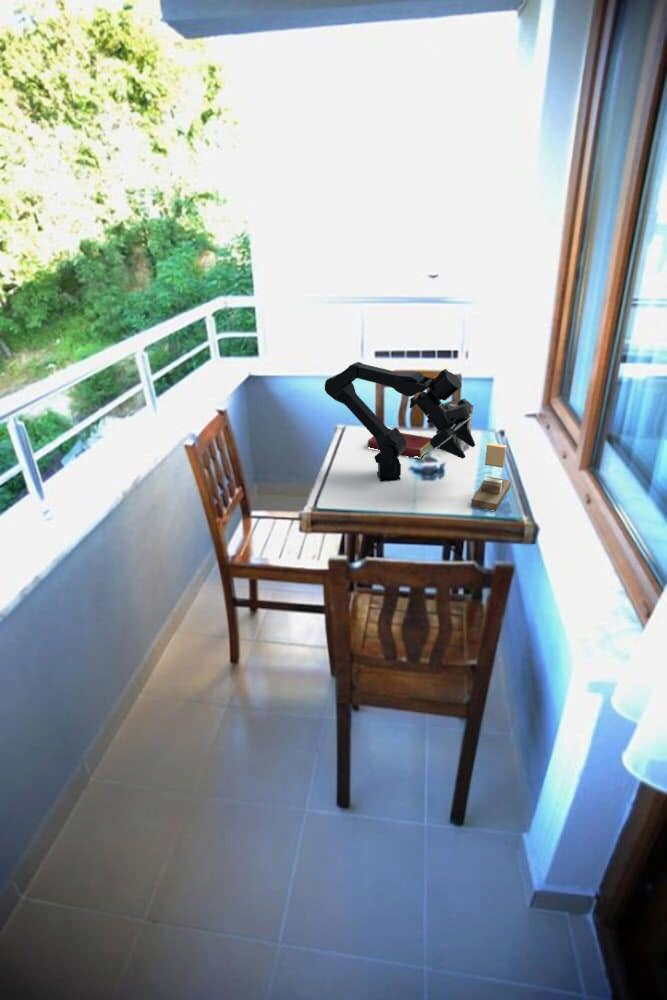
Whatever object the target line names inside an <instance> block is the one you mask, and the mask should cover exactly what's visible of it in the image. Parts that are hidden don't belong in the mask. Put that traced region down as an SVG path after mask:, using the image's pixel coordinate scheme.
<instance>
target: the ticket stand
mask: <svg viewBox="0 0 667 1000" xmlns="http://www.w3.org/2000/svg"><path fill="white" fill-rule="evenodd" d="M511 484H512V480H510V479H509V480H508V479H505V478H498V477H492V476H486V477H484V478H483V480H482V482H481V485H480V487H479V488H478V490H476V492H475V493H474V495H473V496H472V497H471V499H470V501H471V503H470V507H471V508H475V509H480V510H484V509H487V510H486V511H489V510H494V511H496V510H497V511H498V509H499V508H500V506H501V504H502V503H501V502H503V501H504V499H505V498H504V497H506V496H507V494H508V493H509V491H510V489H511ZM507 492H508V493H507ZM502 500H503V501H502ZM499 505H500V506H499ZM498 507H499V508H498ZM497 508H498V509H497ZM494 511H493V512H494ZM497 511H496V512H497Z"/></svg>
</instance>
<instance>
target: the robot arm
mask: <svg viewBox="0 0 667 1000" xmlns="http://www.w3.org/2000/svg"><path fill="white" fill-rule="evenodd" d="M357 379H359V380H363V381H367V382H370V383H375V384H379V385H383V386H387V387H389V388H392V389H393V390H394V391H396V392H397V393H399V394H402V395H403V396H406V397H411V398H410V399H409V401H410V403H409V409H413V408H414V407H416V406H417V407H418V408H419V409H420V411H421V412H422V413H423V414H424V415H425V417H427V420H426V422H427V423H428V424H430V423H431V424H432V425H433V427H435V429H436V431H435V433H436V434H435V435H433V436H432V437H430V438H431V439H430V444H431V446H432V447H433V449H437V450H441V451H443V452H446V453H449V454H452V455H453V456H456V457H458V458H460V459H462V460H464V459H465V458H466V454H465V451H464V452H463V451H462V449H461V448H460V446H459V445H458V443H457V442H456V436H457V437H458V438H459V439H461V440H462V441H464V442H465V443H466V444H468V445H469V446H470V448H474V447H476V442H475V441H474V440H475V439H474V438H473V436H472V434H471V433H472V432H471V433H470V430H469V422H470V419H469V420H468V421H465V420H467V419H468V418H469V417H470V415H469V414H470V413H472V410H471V408H470V407H471V406H472V405H473V404H472V403H470V401H468V400H467V399H466V398H462V399H460V400H458V401H457V402H458V405H456V406H455V407H452V408H451V407H450V406H449V405H447V404H446V405H445V406H444V405H443V404H444V403H442V401H447V400H448V399H449V398H450V397H452V395H454V394H455V393H457V391H459V390H460V389H461V388H462V382H461V380H460V379H459V376H457V375H455V374H454V373H453V372H451V371H449V370H448V369H446V368H444V369H442V370H441V371H440V372H439V373H438V375H437V376H436V377H435V378H434V377H433V378H432V377H429V376H426V375H424V374H423V373H422V372H420V371H410V370H408V371H407V370H406V371H405V370H404V371H394V370H391V369H386V368H382V367H378V366H373V365H369V364H365V363H363V362H360V361H356V362H353V363H352V364H350V365H349V366H348V367H347V368H345V369H344V370H343V371H341V372H340V373H337V374H335V375H333V376H331V377H328V378H327V379H326V380H325V382H324V391H325V393H326V394H327V395H328V396H329V397H330V398H332V399H333V400H334V401H336V402H339V403H340V404H343V405H344V406H345V407H346V408H347V409H348V410H349V411H350V412H351V413H352V415H353V416H354V417H355V418H356V419H357V420H358V421H359V422H360V424H362V425H363V426H364V427H365V429H367V431H368V432H369V433H370V434H371V435H372V437H373V436H374V437H375V439H376V442H377V445H378V448H379V450H380V451H378V453H377V454H375V455H374V457H373V458H374V461H375V463H376V464H377V471H376V475H377V477H378V479H379V482H381V483H382V482H389V481H390V482H391V481H392V482H393V481H401V477H400V476H401V475H402V474H401V473H402V472H401V471H402V468H401V467H402V464H401V462H400V459H399V457H401V453H402V452H404V451H405V449H406V447H407V444H406V443H407V442H406V440H405V439H404V437H405V436H404V435H402V434H401V433H402V432H400V431H399V428H397V427H394V428H393V429H391V428H389V427H387V426H386V425H385V424H384V423H383V421H382V420H380V418H379V417H378V416H377V415H376V414H375V413H374V412H373V411H372V410H371V408H369V406H368V405H367V404H366V403H365V402H364V401H363V399H361V397H360V396H359V394H357V392H356V388H355V386H354V384H353V382H354V381H355V380H357ZM428 389H429V390H428ZM426 390H428V391H427V392H426ZM418 393H419V394H418ZM416 394H418V395H417V396H415V395H416ZM453 430H454V432H453ZM452 434H454V435H453V436H452ZM439 445H440V446H439Z"/></svg>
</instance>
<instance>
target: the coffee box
mask: <svg viewBox="0 0 667 1000" xmlns="http://www.w3.org/2000/svg"><path fill="white" fill-rule="evenodd" d="M446 404H447V405H449V406H450V407H451V408H452V407H455V406H456V405H458V401H455V400H450V401H447V402H445V403H443V405H444V406H445V405H446ZM470 408H471V410H472V413H470V414H469V415H470V417H469V418H468V419H467V420H465V421H468V420H469V419H470V422H469V430H470V433H472V425H473V424H472V423H473V415H474V414H473V413H474V405H473V404H472V406H471V407H470ZM453 432H454V430H453ZM453 435H454V434H452V436H453ZM456 442H457V443H458V445H459V446H460V448H461V449H462V451H463V452H464V453H465V452H466V451H468V450H469V449H470V448H471V446H469V445H468V444H466V443H465V442H464V441H462V440H461V439H459V438H458V437H457V436H456ZM439 446H440V445H439ZM439 446H438V447H439Z"/></svg>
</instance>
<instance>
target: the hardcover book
mask: <svg viewBox="0 0 667 1000" xmlns="http://www.w3.org/2000/svg"><path fill="white" fill-rule="evenodd" d="M400 433H401V434H402V435H404V436H405V437H404V439H405V440H406V442H407V443H406V444H407V447H406V449H405V451H404V452H402V453H401V455H402V457H406V456H408V458H411V457H414V456H418V457H421V456H422V455H423V454H425V453H427V452H428V453H429V452H431V451H432V450H433V449H434V448H433V447H432V446H431V444H430V439H431V438H432V437H429V436H422V435H418V434H417V435H416V434H410V433H404V432H400ZM368 447H370V448H374V449H378V450H379V448H378V445H377V442H376V439H375V437H374V436H373V435H372V437H370V438H369V439H367V448H368ZM428 453H427V454H428ZM401 455H400V456H401Z"/></svg>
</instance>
